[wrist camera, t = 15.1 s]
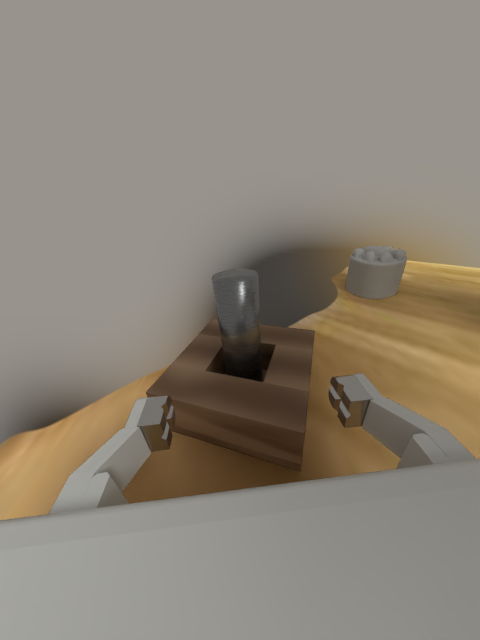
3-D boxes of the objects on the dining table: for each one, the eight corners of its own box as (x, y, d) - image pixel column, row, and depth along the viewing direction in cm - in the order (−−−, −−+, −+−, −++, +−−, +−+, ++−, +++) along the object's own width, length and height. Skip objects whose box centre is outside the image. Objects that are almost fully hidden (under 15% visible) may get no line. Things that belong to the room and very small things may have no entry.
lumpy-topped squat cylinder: (396, 281, 52) (407, 243, 48) (398, 302, 42) (412, 257, 38) (348, 277, 57) (354, 242, 53) (341, 295, 47) (347, 255, 43)
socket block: (216, 347, 34) (212, 319, 31) (311, 362, 29) (314, 330, 27) (159, 427, 22) (145, 392, 20) (300, 471, 18) (304, 433, 15)
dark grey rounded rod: (235, 369, 27) (222, 268, 21) (266, 375, 26) (262, 269, 20) (222, 393, 24) (203, 282, 18) (257, 401, 23) (250, 284, 17)
